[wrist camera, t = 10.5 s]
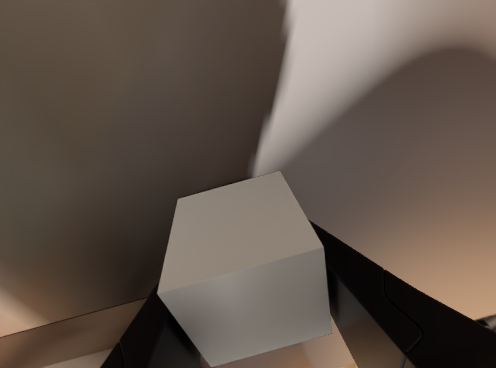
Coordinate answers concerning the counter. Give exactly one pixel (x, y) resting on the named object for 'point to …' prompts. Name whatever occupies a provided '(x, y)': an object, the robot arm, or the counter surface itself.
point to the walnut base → (69, 340)
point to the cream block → (245, 270)
